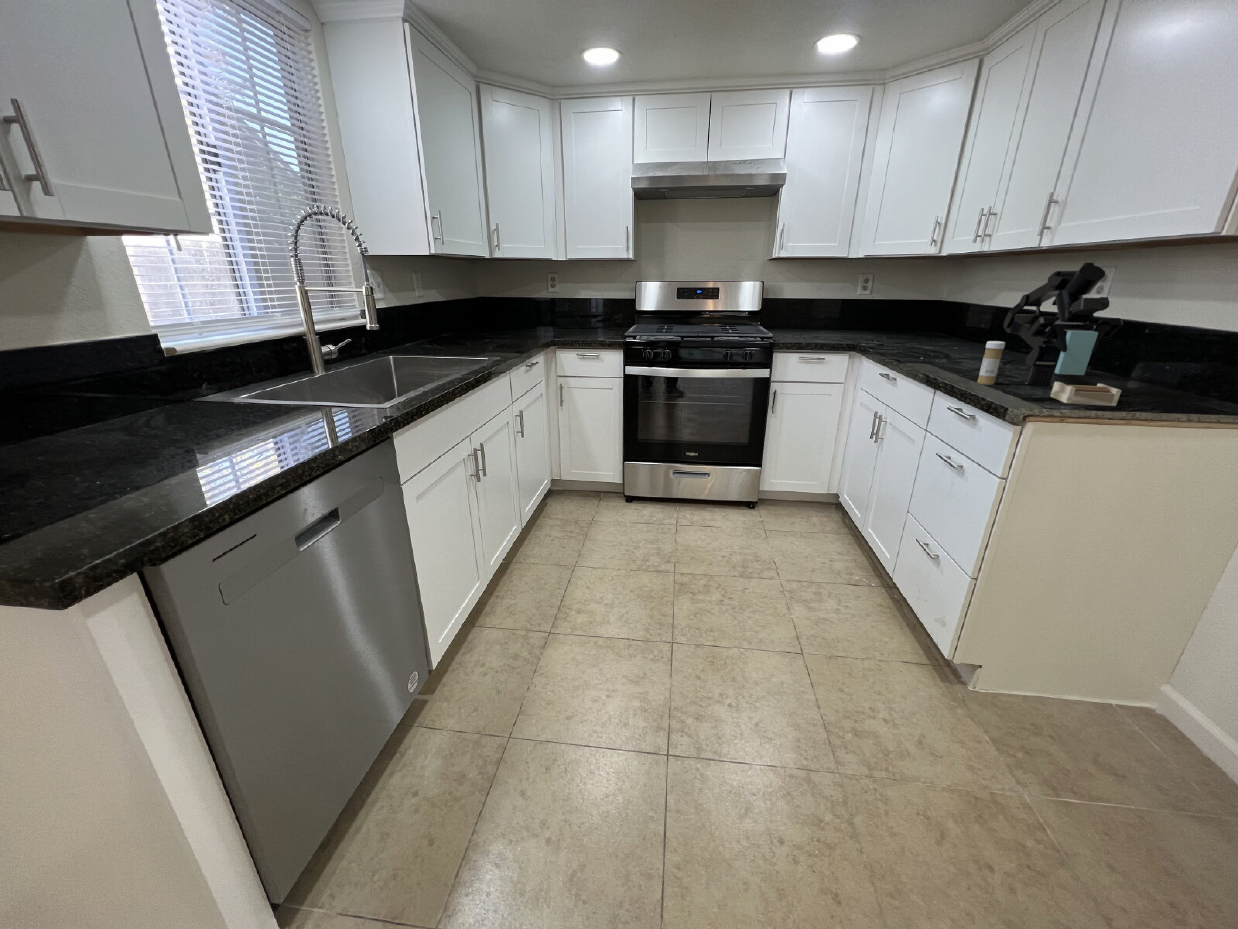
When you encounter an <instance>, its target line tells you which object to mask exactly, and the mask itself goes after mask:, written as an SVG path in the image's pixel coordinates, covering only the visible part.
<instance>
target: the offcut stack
mask: <svg viewBox="0 0 1238 929" xmlns="http://www.w3.org/2000/svg"><path fill="white" fill-rule="evenodd" d="M1068 385H1069V386H1071V387H1074V388H1076V389H1075V391H1079V392H1100V393H1110V390H1108V389H1107V387H1104V386H1097V385H1081V384H1080V385H1079V384H1078V385H1077V384H1068Z"/></svg>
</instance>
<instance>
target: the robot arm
mask: <svg viewBox="0 0 1238 929" xmlns="http://www.w3.org/2000/svg"><path fill="white" fill-rule="evenodd" d="M1105 276H1106V270H1104V269H1103V268H1102V267H1100V266H1098V265H1095V262H1084V263H1083V264H1082V266H1081V267H1080V268H1079V270H1055V271H1053V273H1051V275H1049V276H1048V277H1047V282H1045V283H1044V284H1042V285H1040V286H1039V287H1037V288H1035V289H1034V290H1032V291H1031V292H1029V293H1025V294H1023V295H1022V296H1021V298H1020V301H1018V303H1017V304H1016V305H1014V306H1013V307H1012V308H1010V310H1008V313H1007V314H1006V316H1005V319H1004V321H1003V329H1004V330H1005V332H1007V333H1010V334H1015V335H1019V336H1020V337H1021V338H1022V339H1023V340H1024V341H1025V342H1026V343H1027V344H1028V345H1029V346H1030V347H1031V348H1032V350H1031V351H1030V352H1029V353H1028V354H1027V356H1026V357H1025V365H1027V366H1031V369H1030V373H1029V376H1028V380H1027V381H1026V382H1025V383H1024V385H1033V386H1039V387H1041V386H1043V387H1045V386H1054V383H1053V380H1054V377H1055V374H1056V373H1054V372H1055V369H1056V366H1057V363H1058V360H1059V357H1060V353H1061V351H1062V352H1066V351H1067V343H1066V334H1065V332H1067V331H1093V332H1098V335H1097V338H1096V341H1095V344H1094V347H1093V350H1092V353H1091V354H1094V353H1095V352H1096V351H1097V347H1098V344H1099V342H1100V339H1108V338H1111V337H1112V336H1113V335H1114V334H1115V333H1117V331H1119V329H1120V328H1122V326H1123V325H1124V323H1123V320H1122V318H1121V317H1102V318H1101V319H1100V320H1099V321H1098V322H1097V323H1096V322H1094V323H1093V322H1090V323H1089V320H1092V319H1093V318H1094V315H1095V314H1096V313H1098V312H1100V311H1102V312H1103V311H1105V310H1107V309H1108V308H1109V307H1110V299H1109V297H1108V296H1100V297H1084V296H1085V295H1089V294H1091V292H1092V291H1093V290H1094V289H1095V288H1096V286H1097V285H1098V284H1099V283H1100V282H1101V281H1102V280H1103V278H1105ZM1054 297H1055V298H1054ZM1053 298H1054V300H1053V301H1052V303H1051V305H1052V306H1056V311H1057V314H1056V315H1055V316H1042V311H1041V306H1042V304H1044V303H1045V302H1048V301H1050V300H1051V299H1053ZM1025 307H1035V313H1034V314H1028V313H1027V314H1025V313H1024V314H1018V313H1019V312H1021V311H1022V310H1023V309H1024V308H1025Z"/></svg>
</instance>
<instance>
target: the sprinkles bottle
mask: <svg viewBox="0 0 1238 929" xmlns="http://www.w3.org/2000/svg"><path fill="white" fill-rule="evenodd" d="M1005 346H1006V342H1005V341H999V340H994V341H993V340H989V341H987V342H986V344H985V351H984V355H983V357H982V361H981V366H980V370H979V374H978V379H977V381H976V383H977V384H980V385H989V386H991V385H993V386H994V385H995V381H996V378H997V375H998V371H999V368H1000V364H1001V359H1002V356H1003V351H1004V349H1005Z"/></svg>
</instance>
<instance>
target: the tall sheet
mask: <svg viewBox="0 0 1238 929" xmlns="http://www.w3.org/2000/svg"><path fill="white" fill-rule="evenodd" d="M1097 335H1098V332H1093V331H1066V334H1065V338H1066V343H1067V351H1066V352H1062V351H1061V353H1060V357H1059V360H1058V363H1057V366H1056V369H1055V372H1054V373H1055V374H1056V375H1072V376H1074V375H1075V376H1085V373H1086V370H1087V367H1088V364H1089V361H1090V358H1091V355H1092V354H1093V353H1092V350H1093V347H1094V344H1095V341H1096V338H1097Z"/></svg>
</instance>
